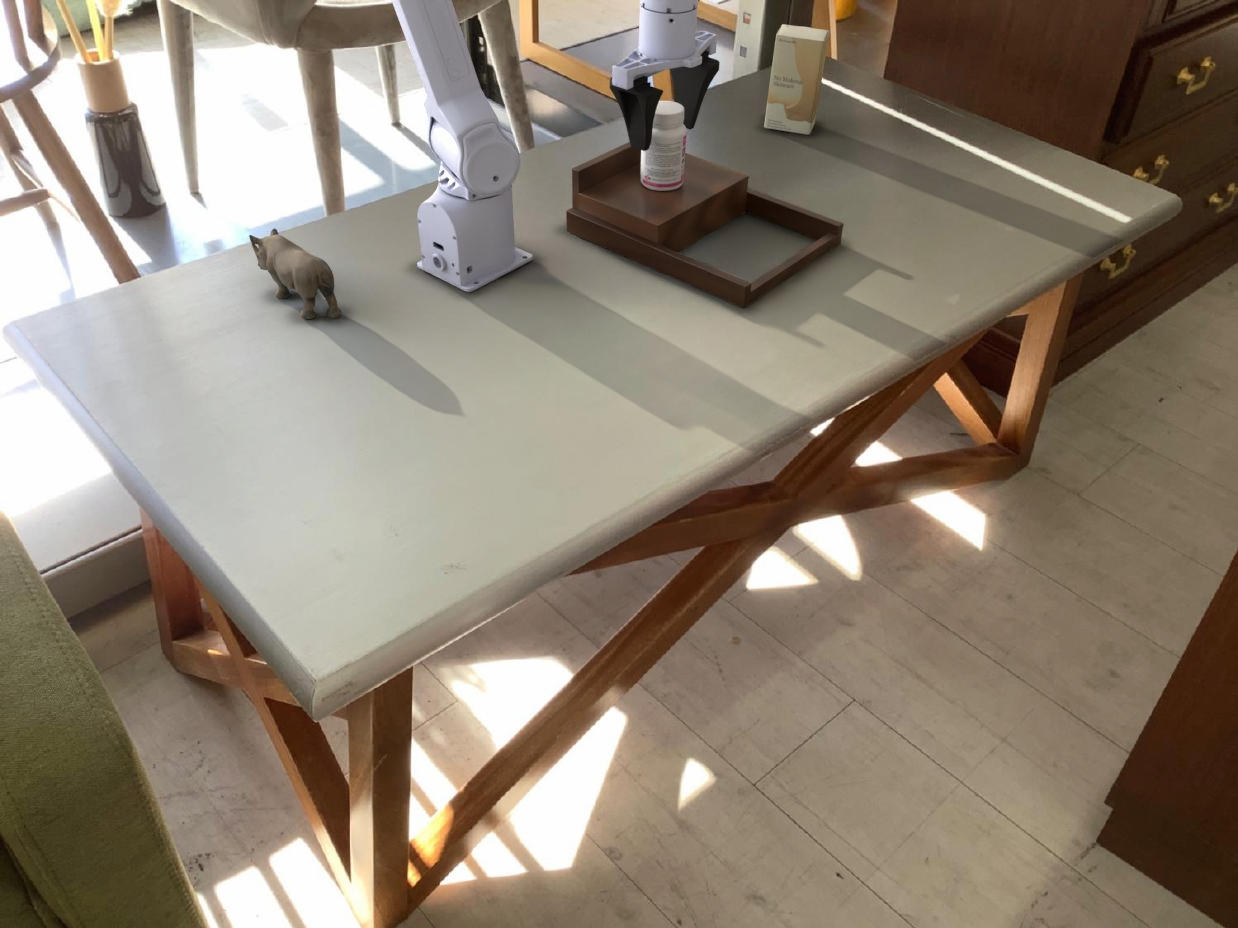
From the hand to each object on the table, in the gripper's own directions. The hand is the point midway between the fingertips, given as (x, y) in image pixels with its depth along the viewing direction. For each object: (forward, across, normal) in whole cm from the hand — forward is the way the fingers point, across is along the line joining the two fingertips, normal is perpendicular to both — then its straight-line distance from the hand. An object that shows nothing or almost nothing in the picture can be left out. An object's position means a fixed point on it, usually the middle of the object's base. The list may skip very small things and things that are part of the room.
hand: (662, 137), depth 118 cm
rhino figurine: (+10, -37, +17) cm, 42 cm away
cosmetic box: (+10, +32, +4) cm, 34 cm away
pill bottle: (+5, 0, 0) cm, 5 cm away
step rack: (+10, 0, -6) cm, 12 cm away
